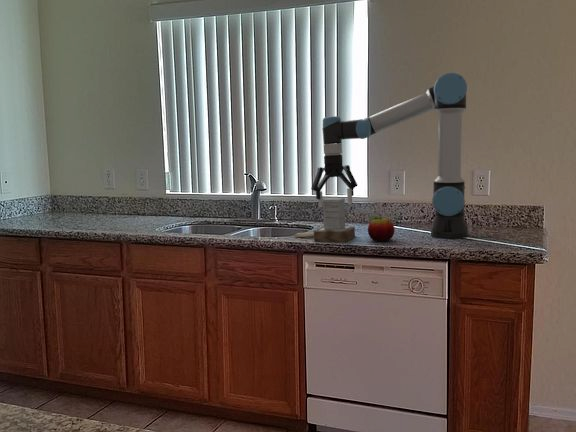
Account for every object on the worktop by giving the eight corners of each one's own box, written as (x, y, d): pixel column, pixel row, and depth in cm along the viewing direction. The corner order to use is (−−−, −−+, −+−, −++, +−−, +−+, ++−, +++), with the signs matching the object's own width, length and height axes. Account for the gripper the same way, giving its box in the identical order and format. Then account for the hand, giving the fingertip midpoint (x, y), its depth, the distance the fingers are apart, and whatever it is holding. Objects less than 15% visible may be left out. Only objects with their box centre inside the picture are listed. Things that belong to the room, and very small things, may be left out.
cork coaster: (321, 236, 238) (321, 234, 238) (300, 238, 234) (300, 237, 234) (311, 233, 247) (311, 231, 247) (291, 235, 244) (291, 233, 243)
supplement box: (329, 226, 237) (328, 197, 235) (345, 227, 234) (345, 197, 232) (323, 229, 230) (322, 199, 228) (339, 230, 227) (339, 199, 225)
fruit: (388, 243, 217) (388, 218, 216) (363, 241, 223) (363, 217, 222) (398, 239, 226) (398, 215, 225) (373, 237, 232) (373, 214, 231)
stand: (354, 236, 237) (354, 226, 236) (347, 242, 224) (347, 231, 223) (323, 235, 241) (323, 225, 241) (314, 241, 228) (313, 230, 228)
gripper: (355, 152, 236) (357, 202, 238) (301, 156, 227) (304, 207, 229) (364, 152, 229) (366, 203, 231) (309, 156, 220) (311, 209, 223)
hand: (335, 205), depth 230 cm, fingers open, 13 cm apart
